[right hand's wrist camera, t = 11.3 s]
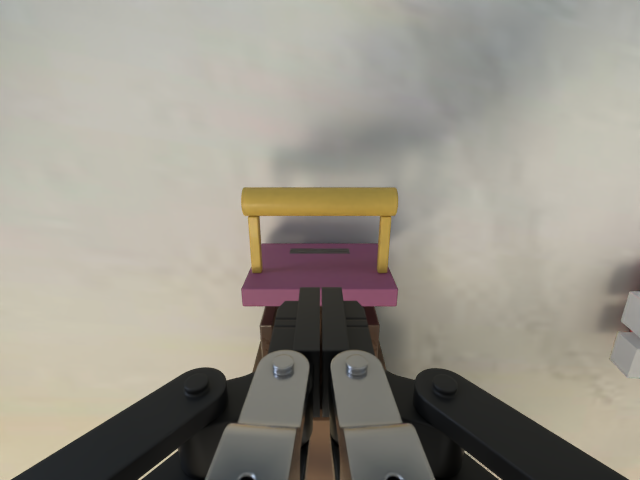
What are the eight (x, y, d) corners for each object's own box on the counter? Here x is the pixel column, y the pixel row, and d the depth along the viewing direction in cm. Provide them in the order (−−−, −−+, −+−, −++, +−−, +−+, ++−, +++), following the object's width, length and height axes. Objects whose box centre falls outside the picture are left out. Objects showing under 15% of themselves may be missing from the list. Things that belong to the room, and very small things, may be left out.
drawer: (257, 173, 25) (232, 196, 18) (382, 173, 25) (406, 196, 18) (271, 396, 32) (257, 474, 25) (368, 396, 32) (381, 474, 25)
